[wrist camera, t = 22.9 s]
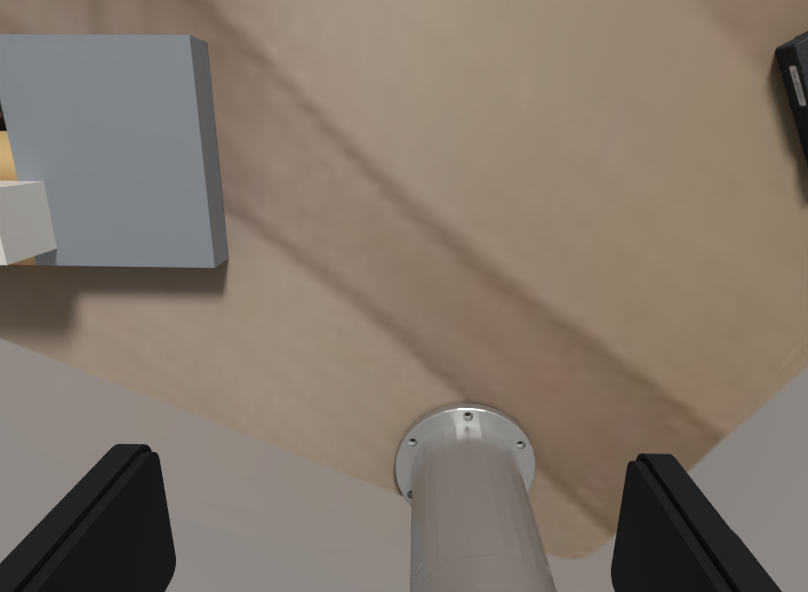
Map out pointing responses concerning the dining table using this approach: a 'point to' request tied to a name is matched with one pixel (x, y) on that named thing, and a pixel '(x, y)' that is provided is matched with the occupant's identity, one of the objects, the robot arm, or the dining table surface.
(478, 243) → the dining table surface
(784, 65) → the disk drive
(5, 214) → the white rectangular block
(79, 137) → the subfloor panel
